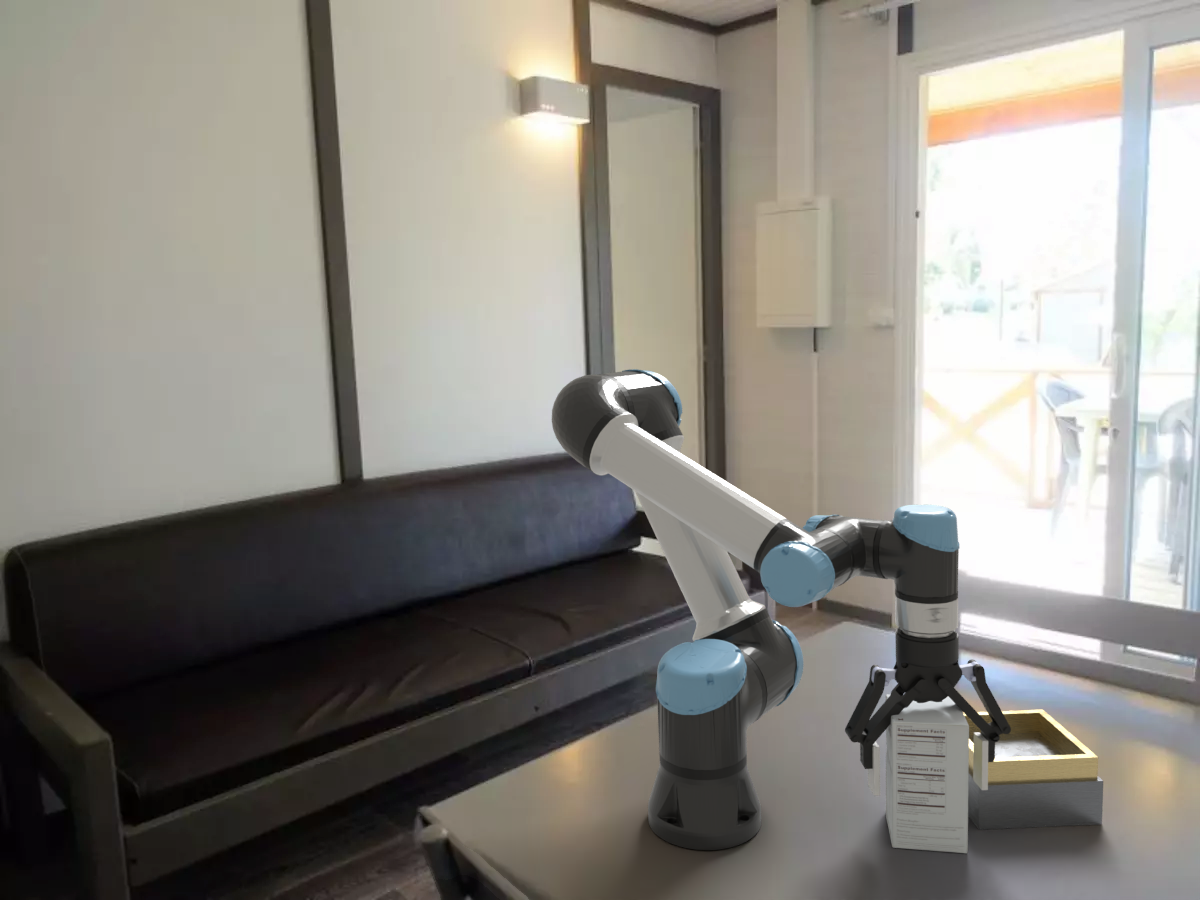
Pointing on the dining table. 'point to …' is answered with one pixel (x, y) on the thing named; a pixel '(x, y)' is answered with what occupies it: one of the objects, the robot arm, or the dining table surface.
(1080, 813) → the gray square bin
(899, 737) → the supplement box
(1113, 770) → the dining table surface
